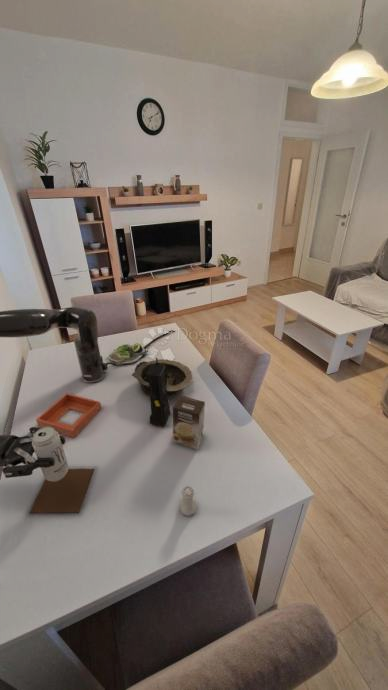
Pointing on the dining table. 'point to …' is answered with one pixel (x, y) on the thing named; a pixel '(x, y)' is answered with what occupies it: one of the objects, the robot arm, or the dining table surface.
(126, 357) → the salad plate
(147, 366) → the stone bowl
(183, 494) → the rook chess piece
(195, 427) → the coffee box
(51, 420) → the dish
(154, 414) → the portable radio
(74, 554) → the dining table surface
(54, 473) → the energy drink can
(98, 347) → the robot arm
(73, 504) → the coaster
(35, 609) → the dining table surface
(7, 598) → the dining table surface
